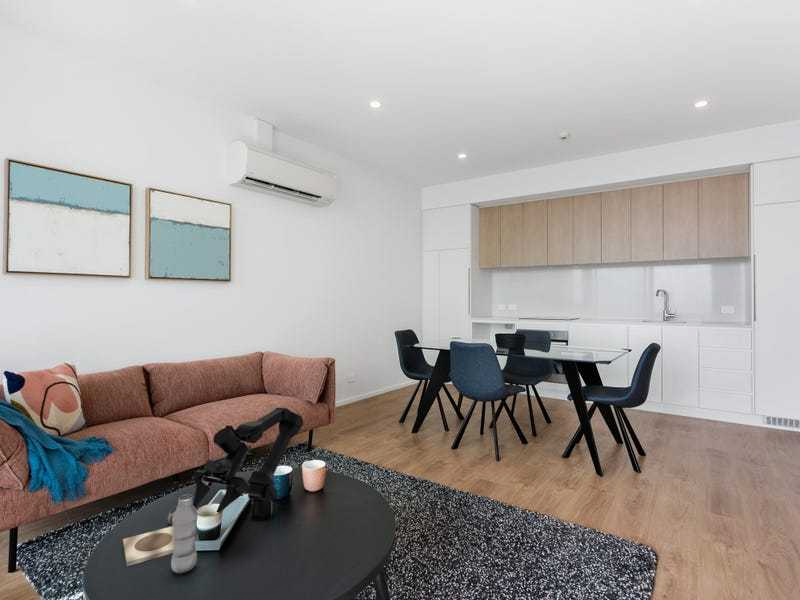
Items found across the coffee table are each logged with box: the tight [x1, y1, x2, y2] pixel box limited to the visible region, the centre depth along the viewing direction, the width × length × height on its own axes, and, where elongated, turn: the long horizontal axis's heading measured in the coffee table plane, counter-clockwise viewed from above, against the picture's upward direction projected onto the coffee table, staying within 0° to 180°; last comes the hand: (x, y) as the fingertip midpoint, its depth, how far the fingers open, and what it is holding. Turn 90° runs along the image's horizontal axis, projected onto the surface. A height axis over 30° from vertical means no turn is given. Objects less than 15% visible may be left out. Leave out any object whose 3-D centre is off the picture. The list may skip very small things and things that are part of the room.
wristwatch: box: [167, 506, 179, 525], centre depth 145 cm, size 4×6×5 cm, turn 138°
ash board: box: [122, 525, 174, 567], centre depth 130 cm, size 15×15×1 cm
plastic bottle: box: [170, 494, 198, 574], centre depth 119 cm, size 6×7×20 cm
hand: (205, 509), depth 126 cm, fingers open, 9 cm apart
